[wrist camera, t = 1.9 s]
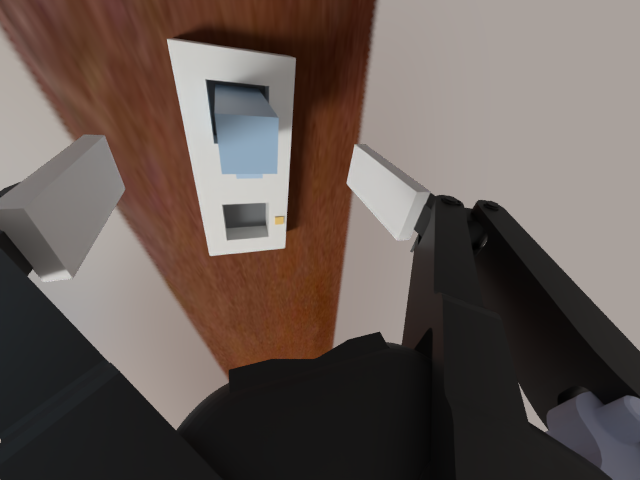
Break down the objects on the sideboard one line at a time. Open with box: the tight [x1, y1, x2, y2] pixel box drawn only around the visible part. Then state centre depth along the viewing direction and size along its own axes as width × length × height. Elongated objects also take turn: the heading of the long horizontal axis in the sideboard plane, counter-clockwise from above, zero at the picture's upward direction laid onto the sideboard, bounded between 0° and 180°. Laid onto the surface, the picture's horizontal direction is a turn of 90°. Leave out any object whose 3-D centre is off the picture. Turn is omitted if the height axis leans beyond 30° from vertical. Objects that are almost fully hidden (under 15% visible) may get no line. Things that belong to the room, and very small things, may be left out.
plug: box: [214, 84, 279, 179], centre depth 19 cm, size 4×4×10 cm
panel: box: [167, 38, 296, 256], centre depth 25 cm, size 20×9×3 cm, turn 173°
